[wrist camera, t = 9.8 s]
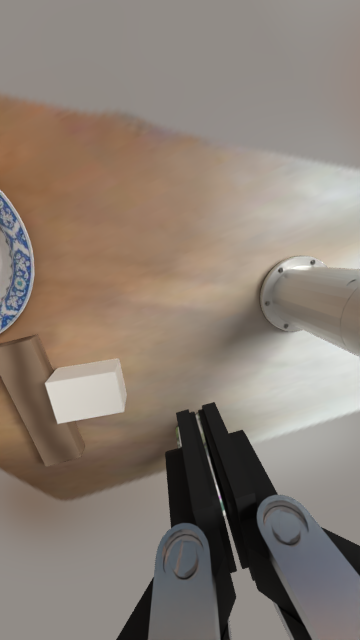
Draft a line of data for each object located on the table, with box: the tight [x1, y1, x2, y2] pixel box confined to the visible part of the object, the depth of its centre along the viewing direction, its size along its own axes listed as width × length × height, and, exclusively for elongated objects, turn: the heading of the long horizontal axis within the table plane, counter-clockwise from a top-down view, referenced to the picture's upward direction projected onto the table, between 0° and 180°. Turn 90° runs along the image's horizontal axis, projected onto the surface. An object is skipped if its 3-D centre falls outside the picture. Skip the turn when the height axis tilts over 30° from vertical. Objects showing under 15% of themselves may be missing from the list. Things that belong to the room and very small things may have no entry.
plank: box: [0, 334, 85, 467], centre depth 38 cm, size 6×22×2 cm, turn 13°
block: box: [45, 358, 127, 424], centre depth 38 cm, size 10×7×5 cm
